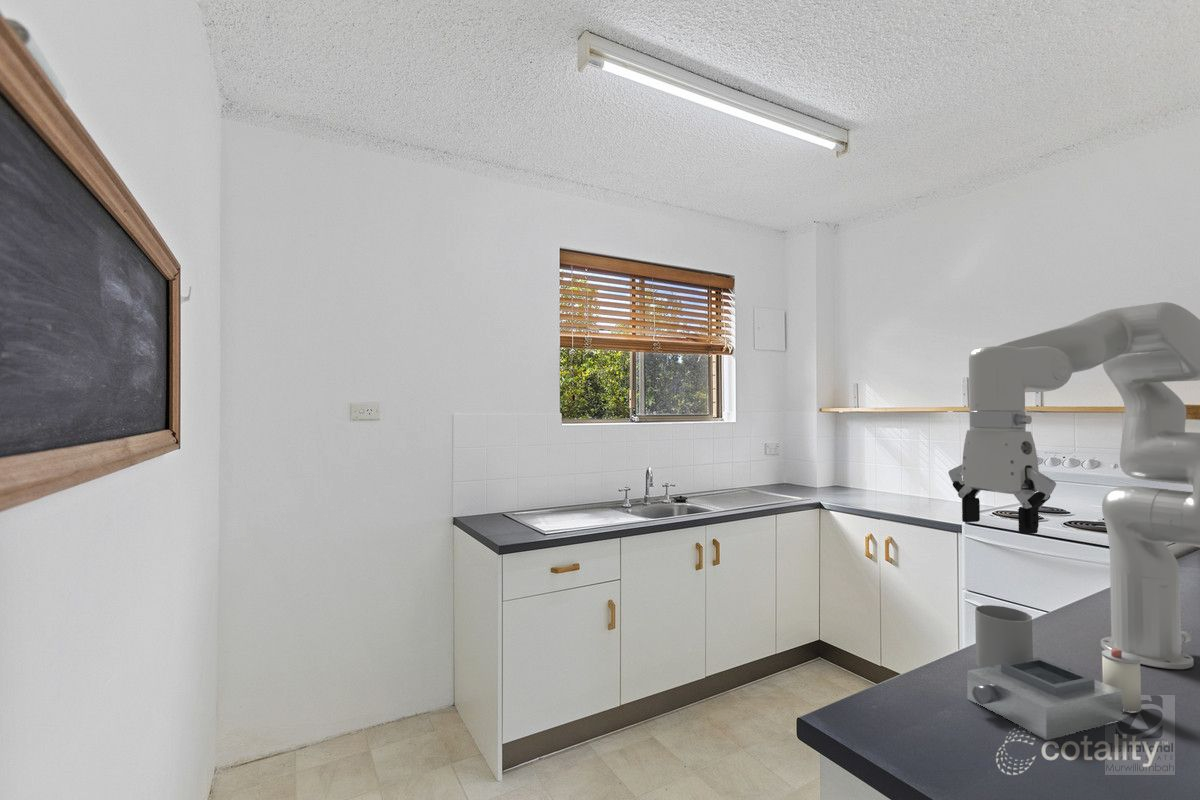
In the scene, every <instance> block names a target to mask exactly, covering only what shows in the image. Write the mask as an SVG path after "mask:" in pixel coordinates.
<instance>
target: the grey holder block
mask: <svg viewBox="0 0 1200 800" xmlns="http://www.w3.org/2000/svg"><path fill="white" fill-rule="evenodd" d="M966 677H967V678H966V679H967V680H966V682H967V685H966V687H967V689H966V690H967V695H966V698H967V700H969V701H970V702H972V703H975V704H976V703H977V704H976V705H978V704H979V705H978V706H980V705H981V706H983V707H985V708H987V709H989V710H991V711H993V712H995V713H997V714H999V715H1001V716H1003V717H1005V718H1007V719H1008V720H1010V721H1012V722H1014V723H1015V724H1014V723H1013V724H1014V725H1016V724H1018V725H1019V726H1018V725H1017V726H1018V727H1020V726H1021V727H1020V728H1022V727H1023V728H1022V729H1024V728H1025V729H1024V730H1026V729H1027V730H1026V731H1028V732H1029V733H1031V732H1032V733H1031V734H1034V735H1036V736H1037V737H1039V738H1041V739H1043V740H1046V741H1050V740H1053V739H1058V738H1061V737H1066V736H1070V735H1073V734H1077V733H1076V732H1078V733H1080V732H1079V731H1082V732H1084V731H1083V730H1086V731H1088V730H1087V729H1090V730H1092V729H1091V728H1094V729H1096V728H1095V727H1098V726H1102V725H1105V724H1107V723H1110V722H1115V721H1118V720H1123V721H1124V712H1123V691H1122V690H1120V689H1117V688H1115V687H1112V686H1109V685H1107V684H1104V683H1103V681H1102V682H1101V681H1099V680H1097V679H1093V678H1092V677H1089V676H1087V675H1085V674H1081V673H1079V672H1076V671H1074V670H1071V669H1068V668H1066V667H1063V666H1061V665H1059V664H1056V663H1054V662H1051V661H1049V660H1046V659H1044V658H1041V657H1039V656H1037V657H1033V658H1031V659H1026V660H1020V661H1015V662H1009V663H1004V664H1001V665H996V666H990V667H985V668H976V669H975V668H974V669H969V670H967V671H966ZM981 706H980V707H981ZM983 707H982V708H983ZM985 708H984V709H985ZM987 709H986V710H987ZM989 710H988V711H989ZM991 711H990V712H991ZM993 712H992V713H993ZM995 713H994V714H995ZM997 714H996V715H997ZM999 715H998V716H999ZM1001 716H1000V717H1001ZM1003 717H1002V718H1003ZM1005 718H1004V719H1005ZM1008 720H1007V721H1008ZM1010 721H1009V722H1010ZM1012 722H1011V723H1012ZM1102 727H1103V726H1102ZM1098 728H1099V727H1098ZM1069 734H1070V735H1069ZM1065 735H1066V736H1065Z"/></svg>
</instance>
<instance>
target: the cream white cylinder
mask: <svg viewBox="0 0 1200 800" xmlns="http://www.w3.org/2000/svg"><path fill="white" fill-rule="evenodd" d="M1101 658H1102V659H1101V660H1102V666H1101V667H1102V683H1104V684H1107V685H1109V686H1112V687H1115V688H1117V689H1120V690H1122V691H1123V709H1124V710H1127V711H1128V710H1129V711H1139V710H1140V709H1141V710H1142V690H1141V689H1142V684H1141V683H1142V679H1141V677H1142V676H1141V664H1140V663H1141V659H1140V658H1138V657H1137V656H1135V655H1132V654H1129V653H1126V652H1122V651H1121V650H1118V649H1111V650H1104V649H1103V650H1101Z"/></svg>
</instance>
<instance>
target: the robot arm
mask: <svg viewBox="0 0 1200 800" xmlns="http://www.w3.org/2000/svg"><path fill="white" fill-rule="evenodd" d="M1100 365H1102V368H1103V370H1104V372H1105V373H1106V375H1107V376H1108V378H1109V379H1110V381H1111V383H1113V385H1114V387H1115V388H1116V390H1117V392H1118V393H1119V395H1120V397H1121V399H1122V402H1123V405H1124V419H1123V427H1122V434H1121V443H1120V449H1119V450H1120V451H1119V466H1120V468H1121V471H1122V472H1123V473H1124V474H1125V476H1128V477H1130V478H1132V479H1135V480H1136V479H1137V480H1141V481H1147V482H1149V481H1151V482H1157V483H1167V484H1168V483H1169V484H1181V485H1191V486H1192V489H1193V491H1186V490H1176V489H1168V488H1159V487H1148V486H1138V485H1137V486H1134V485H1133V486H1132V485H1131V486H1130V485H1128V486H1120V487H1116V488H1113V489H1111V490H1109V491H1108V492H1107V493H1106V494H1105V495H1104V497H1103V498H1102V502H1101V510H1102V517H1103V522H1104V524H1105V525H1104V526H1105V529H1106V531H1107V538H1108V545H1109V547H1108V548H1109V573H1110V574H1109V575H1110V576H1109V577H1110V579H1109V582H1110V585H1109V586H1110V626H1111V627H1110V629H1111V631H1110V632H1111V633H1110V634H1111V635H1110V636H1105V637H1102V639H1100V647H1101V648H1102V649H1103V650H1111V649H1118V650H1121V651H1122V652H1126V653H1129V654H1132V655H1135V656H1137V657H1138V658H1140V659H1141V663H1140V665H1142V666H1143V665H1144V666H1148V667H1154V668H1160V669H1167V670H1186V669H1191V668H1192V667H1194V662H1195V661H1194V660H1195V659H1194V658H1193V657H1192V656H1191V655H1190V654H1188V653H1187V652H1185V651H1183V650H1182V644H1184V643H1188V642H1190V641H1191V640H1192V636H1191V634H1190V633H1188V632H1186V631H1185V630H1184V631H1183V630H1182V625H1181V621H1182V620H1181V618H1182V617H1181V579H1180V575H1181V574H1180V566H1179V563H1178V560H1177V557H1175V555H1174V554H1173V552H1172V551H1171V550H1170V549H1169V547H1168V546H1167V545H1166V544H1165V543H1166V542H1167V543H1174V544H1178V545H1180V544H1181V545H1186V546H1191V547H1197V548H1200V432H1191V431H1190V432H1186V430H1185V429H1186V420H1187V407H1186V405H1185V403H1184V402H1183V400H1182V399H1181V398H1180V397H1179V396H1178V395H1177V394H1176V393H1175V392H1174V391H1173V390H1172V389H1171V388H1170V387H1168V386H1167V385H1166V384H1165V382H1167V383H1169V382H1191V381H1193V382H1195V381H1200V319H1199V317H1197V316H1196V315H1195V314H1193V313H1192V312H1191V311H1190V310H1188V309H1186V308H1184V307H1183V306H1181V305H1179V304H1176V303H1172V302H1169V301H1167V302H1155V303H1148V304H1140V305H1133V306H1126V307H1119V308H1112V309H1107V310H1104V311H1100V312H1098V313H1094V314H1093V315H1090V316H1088V317H1085V318H1082V319H1080V320H1078V321H1076V322H1073V323H1070V324H1068V325H1066V326H1065V325H1064V326H1062V327H1058V328H1054V329H1050V330H1047V331H1044V332H1040V333H1037V334H1034V335H1030V336H1026V337H1023V338H1018V339H1016V340H1012V341H1008V342H1004V343H1002V344H999V345H996V346H995V345H993V346H985V347H984V346H983V347H978V348H976V349H973V350H972V351H971V352H970V354H969V356H968V390H969V391H968V392H969V393H968V394H969V397H968V398H969V401H968V403H969V406H968V408H969V429H967V430H966V433H965V438H964V444H963V451H962V462H961V463H962V464H960V465H958V466H956V467H953V468H952V469H950V470H949V471H948V476H949V477H950V480H951V483H952V487H953V488H954V490H955V491H956V492H957V497H958V498H959V499H961V509H962V510H961V516H962V517H961V520H962V522H964V523H977V522H980V520H981V515H980V514H981V513H980V512H981V510H980V509H981V508H980V506H981V503H980V497H977V496H978V495H979V493H980V492H981V491H984V492H985V491H986V492H994V493H1000V494H1006V495H1007V494H1009V495H1014V497H1015V498H1016V499H1017V501H1018V502H1019V503H1020V504H1021V507H1019V508H1018V512H1017V514H1018V518H1017V519H1018V533H1020V534H1023V535H1033V534H1038V531H1039V529H1038V528H1039V523H1040V521H1039V508H1040V509H1041V508H1042V507H1043V506H1044V504H1045V503H1046V502H1047V501H1049V499H1051V495H1052V493H1053V492H1054V490H1055V488H1056V487H1057V483H1056V481H1054V479H1051V478H1050V477H1048V476H1046V475H1045V474H1043V473H1042V472H1040V471H1039V469H1040V468H1039V461H1038V455H1037V449H1036V445H1035V441H1034V438H1033V437H1034V436H1033V434H1032V431H1027V430H1026V425H1030V424H1032V421H1033V419H1032V417H1031V415H1026V393H1041V392H1042V393H1043V392H1051V391H1055V390H1057V389H1058V390H1059V389H1060V388H1062V387H1064V385H1066V384H1067V383H1068V382H1069V381H1070V379H1071V377H1072V374H1073V373H1074V374H1075V373H1078V372H1079V373H1080V372H1084V371H1088V370H1091V369H1094V368H1095V367H1098V366H1100Z"/></svg>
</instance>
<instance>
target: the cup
mask: <svg viewBox="0 0 1200 800" xmlns="http://www.w3.org/2000/svg"><path fill="white" fill-rule="evenodd" d="M974 612H975V615H974V617H975V620H974V621H975V666H976V665H977V666H978V667H979V668H985V667H990V666H996V665H1001V664H1004V663H1009V662H1015V661H1020V660H1026V659H1031V658H1034V656H1033V654H1034V652H1033V651H1034V650H1033V645H1034V644H1033V643H1034V642H1033V616H1032V615H1031V614H1029V613H1027V612H1025V611H1023V610H1020V609H1016V608H1012V607H1008V606H1004V605H1003V606H1002V605H992V604H991V605H990V604H982V605H979V606H978V605H977V606H975V610H974ZM977 666H976V667H977ZM978 667H977V668H978ZM979 668H978V669H979Z"/></svg>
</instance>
